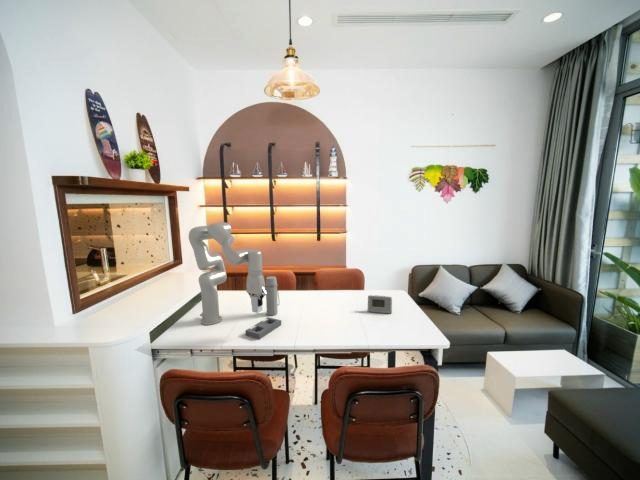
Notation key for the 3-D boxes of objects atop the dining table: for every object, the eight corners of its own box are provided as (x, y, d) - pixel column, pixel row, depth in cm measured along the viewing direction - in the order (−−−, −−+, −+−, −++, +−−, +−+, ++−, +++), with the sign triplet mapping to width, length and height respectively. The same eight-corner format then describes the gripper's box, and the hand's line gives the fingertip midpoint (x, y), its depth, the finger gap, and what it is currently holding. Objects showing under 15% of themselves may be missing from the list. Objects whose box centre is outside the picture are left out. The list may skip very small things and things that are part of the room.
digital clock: (366, 312, 185) (366, 296, 183) (369, 307, 193) (369, 292, 191) (390, 316, 178) (391, 300, 176) (393, 311, 186) (393, 295, 185)
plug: (252, 311, 152) (251, 294, 151) (256, 309, 156) (256, 292, 154) (257, 312, 150) (256, 295, 149) (262, 310, 154) (261, 293, 152)
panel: (245, 335, 153) (245, 330, 153) (268, 321, 171) (267, 316, 170) (259, 339, 148) (259, 333, 148) (281, 324, 166) (281, 319, 166)
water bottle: (269, 317, 178) (268, 279, 174) (264, 313, 184) (263, 277, 181) (282, 313, 183) (281, 277, 180) (276, 310, 189) (275, 274, 186)
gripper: (239, 273, 151) (241, 304, 153) (263, 276, 143) (264, 309, 145) (248, 270, 157) (250, 300, 160) (272, 272, 149) (273, 305, 152)
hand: (257, 304), depth 152 cm, fingers closed on plug, 4 cm apart
